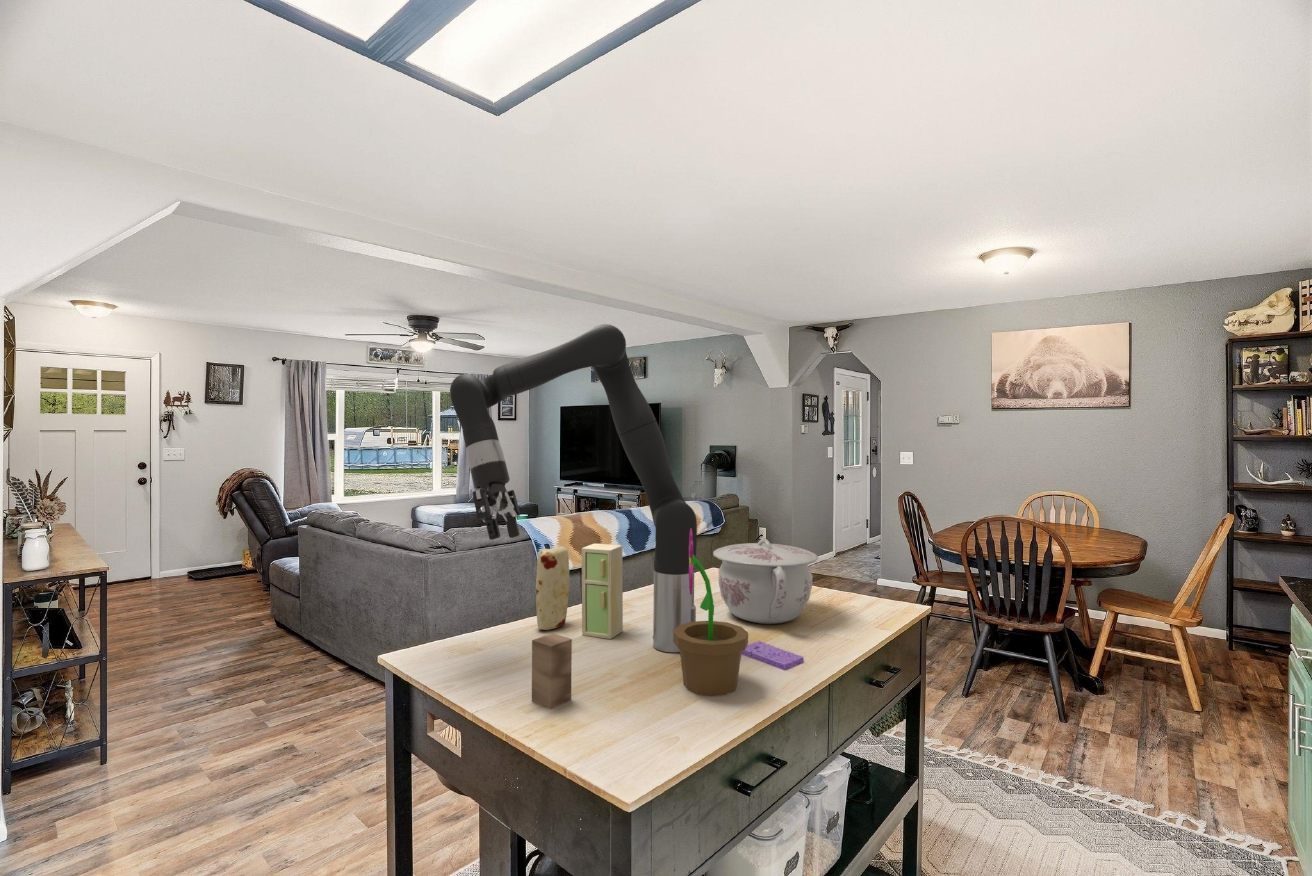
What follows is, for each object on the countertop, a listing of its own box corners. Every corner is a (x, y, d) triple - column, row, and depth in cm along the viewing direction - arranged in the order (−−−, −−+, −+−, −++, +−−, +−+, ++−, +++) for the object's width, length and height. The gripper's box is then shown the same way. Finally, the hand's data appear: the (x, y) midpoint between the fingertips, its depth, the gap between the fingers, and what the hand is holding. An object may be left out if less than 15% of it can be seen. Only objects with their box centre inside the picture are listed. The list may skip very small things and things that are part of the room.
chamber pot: (742, 597, 183) (743, 527, 183) (833, 613, 167) (834, 537, 167) (691, 620, 160) (692, 540, 160) (790, 641, 144) (791, 553, 144)
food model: (548, 635, 148) (548, 551, 147) (528, 629, 151) (528, 548, 151) (575, 624, 156) (576, 545, 155) (555, 620, 159) (556, 542, 159)
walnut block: (552, 691, 116) (552, 633, 115) (571, 699, 112) (571, 638, 112) (531, 700, 112) (532, 640, 111) (550, 708, 108) (550, 646, 108)
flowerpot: (673, 669, 127) (674, 523, 127) (743, 671, 126) (744, 524, 126) (672, 700, 113) (674, 535, 112) (752, 701, 112) (753, 536, 112)
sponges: (758, 648, 141) (758, 640, 141) (804, 664, 132) (804, 655, 132) (738, 655, 137) (738, 647, 137) (784, 672, 127) (784, 663, 127)
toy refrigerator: (579, 636, 147) (580, 547, 147) (593, 627, 154) (594, 542, 154) (609, 640, 144) (610, 550, 144) (623, 631, 151) (623, 545, 151)
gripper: (485, 456, 126) (504, 534, 123) (518, 461, 140) (535, 531, 137) (454, 467, 127) (472, 544, 124) (489, 471, 141) (506, 541, 138)
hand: (505, 537), depth 131 cm, fingers open, 8 cm apart
